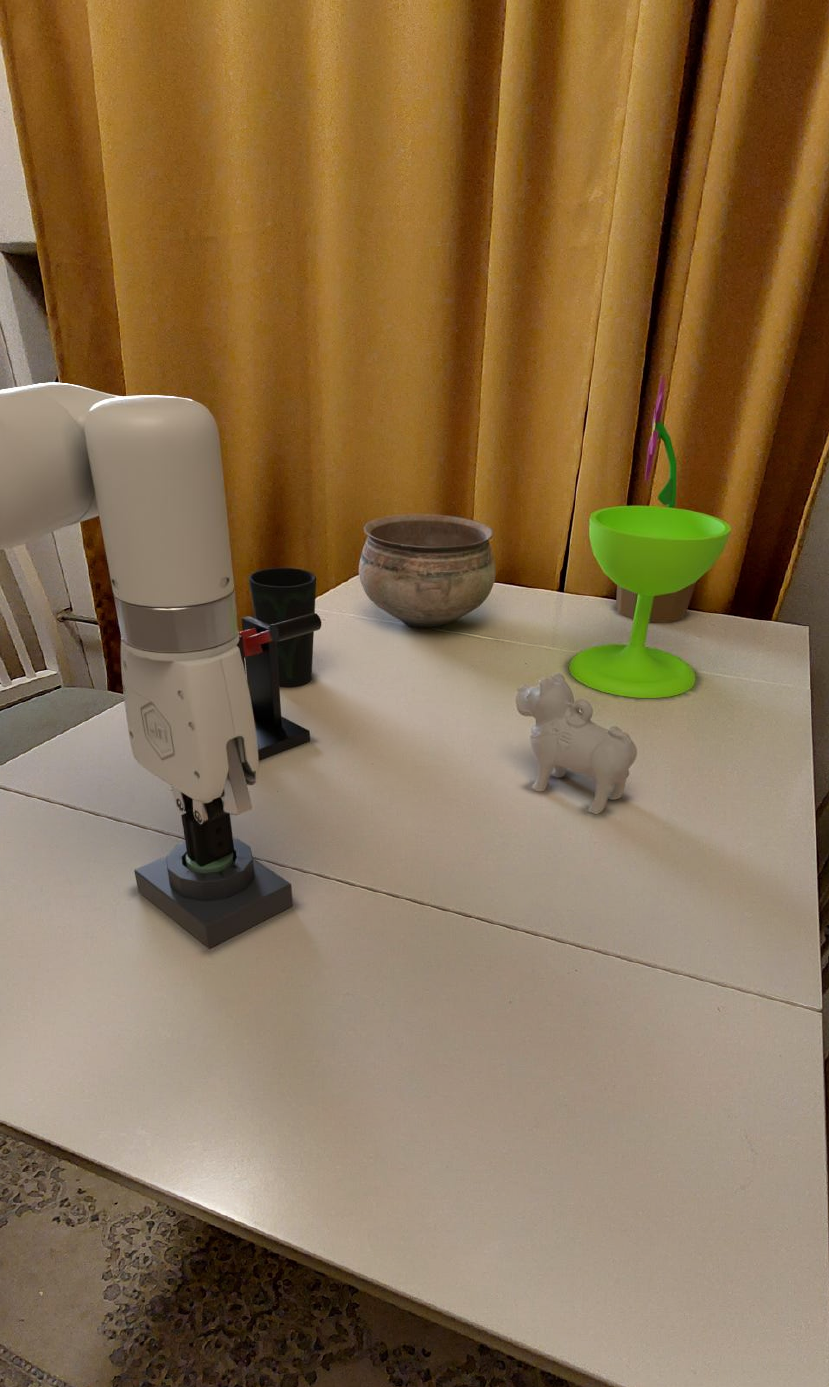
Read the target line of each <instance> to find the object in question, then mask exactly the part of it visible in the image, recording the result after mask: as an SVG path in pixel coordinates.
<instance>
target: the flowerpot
mask: <svg viewBox="0 0 829 1387" xmlns="http://www.w3.org/2000/svg"><path fill="white" fill-rule="evenodd" d="M665 383H666V375H665V374H663V375H662V377H661V380H660V384H659V387H658V392H657V398H656V405H655V406H654V412H653V417H652V422H651V429H652V430H651V436H650V438H649V441H648V442H649V443H648V447H647V455H646V466H645V479H644V480H645V483H648V481H649V478H650V474H651V471H652V467H653V466H652V465H653V461H654V460H653V459H654V455H655V454H656V453H655V452H656V448H657V442H658V440H659V439H661V440H662V442H663V444H664V448H665V452H666V456H667V460H668V465H669V469H668V470H669V473H668V474H669V475H668V476H669V477H668V478H669V479H668V481H667V482H666V484H665V485H664V487H663V488H662V489H661V490H660V492H659V493H658V495H657V500H658V501H659V502H660V503H661V504H662V505H663V506H666V507H669V508H676V503H677V501H676V497H677V459H676V455H675V451H674V447H673V443H672V439H671V436H670V435H669V433H668V430H667V429H666V427H665V425H664V423H663V422H662V419H661V417H662V413H663V406H664V400H665V399H664V398H665V385H666V384H665ZM697 583H698V580H697V581H696V582H695V583H693V584H691V585H689V586H687V587H685V588H683V589H681V590H680V591H677V592H674V593H668V594H663V595H657V596H654V598H653V603H652V608H651V614H650V619H649V623H671V622H677V621H681V620H682V619H683V618H684V617H685V616H686V615H687V610H688V608H689V605H690V603H691V600H692V596H693V594H694V591H695V587H696V585H697ZM637 597H638V594H636V593H633V592H631V591H629V590H626V589H624V588H622V587H620V586H618V585H617V584H616V598H615V600H616V601H615V603H616V604H615V609H616V610H617V611H618V612H619V614H620V615H622V616H624V617H627V618H629V619H631V620H634V614H635V609H636V603H637Z"/></svg>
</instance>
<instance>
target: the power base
mask: <svg viewBox="0 0 829 1387" xmlns="http://www.w3.org/2000/svg"><path fill="white" fill-rule="evenodd" d="M233 844H234V851H233V860H234V863H233V864H232V866H230V867H228V868H226V869H224V870H221V871H218V872H210V873H200V872H194V871H191V870H189V869H188V868H187V864H186V855H187V849H186V843H185V841H184V842H181V843H179V844H176V845H175V846H174V847H173V849H172V850H171V851H170V852H169V853H168V854H167V855H166V856H163V857H161V858H158V859H157V860H154V861H152V862H150V863H146V864H145V865H142V866H140V867H138V868H135V869H134V871H133V872H134V877H135V882H136V886H137V892H138V893H139V894H141V896H143V897H144V898H145V899H146V900H148V901H149V902H150V903H151V904H153V905H154V906H155V907H157V908H158V909H159V910H160V911H162V912H163V913H164V914H165V915H167V916H168V917H169V918H170V919H171V920H173V921H174V922H175V923H176V924H178V925H179V926H180V927H182V928H183V929H184V930H185V931H187V932H188V933H189V934H190V935H192V936H193V937H194V938H195V939H196V940H198V941H199V942H201V944H203V945H204V946H205V947H207V949H212V948H214V947H215V946H217V945H219V944H221V943H223V942H225V941H227V940H229V939H231V938H233V937H235V936H237V935H239V934H241V933H243V932H245V931H247V930H249V929H251V928H252V927H255V926H256V925H259V924H261V923H262V922H264V921H266V920H268V919H271V918H272V917H274V916H275V915H277V914H280V913H282V912H284V911H285V910H287V909H289V908H291V907H293V906H294V904H293V902H294V901H293V890H292V888H293V886H292V883H291V882H289V881H288V880H286V879H285V878H284V877H282V876H280V875H279V874H277V873H276V872H275V871H273V870H271V869H270V868H269V867H267V866H266V865H265V864H263V863H261V862H259V861H258V860H257V859H255V858H254V856H253V852H252V849H251V846H250V845H248V844H246V843H245V842H243V841H242V840H241V839H240V838H237V837H233Z"/></svg>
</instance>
